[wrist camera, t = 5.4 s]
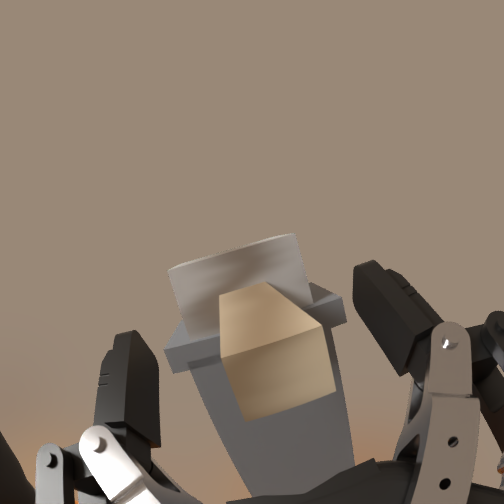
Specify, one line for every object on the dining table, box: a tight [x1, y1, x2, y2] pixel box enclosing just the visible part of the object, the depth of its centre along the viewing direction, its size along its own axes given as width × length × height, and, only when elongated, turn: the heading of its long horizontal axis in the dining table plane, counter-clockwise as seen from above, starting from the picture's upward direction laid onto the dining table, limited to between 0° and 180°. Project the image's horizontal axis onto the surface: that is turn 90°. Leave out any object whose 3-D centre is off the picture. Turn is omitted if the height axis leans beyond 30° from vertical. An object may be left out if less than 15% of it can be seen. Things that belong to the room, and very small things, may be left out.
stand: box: [164, 283, 355, 497], centre depth 18 cm, size 10×6×32 cm, turn 95°
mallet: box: [167, 233, 336, 422], centre depth 13 cm, size 7×14×4 cm, turn 7°
